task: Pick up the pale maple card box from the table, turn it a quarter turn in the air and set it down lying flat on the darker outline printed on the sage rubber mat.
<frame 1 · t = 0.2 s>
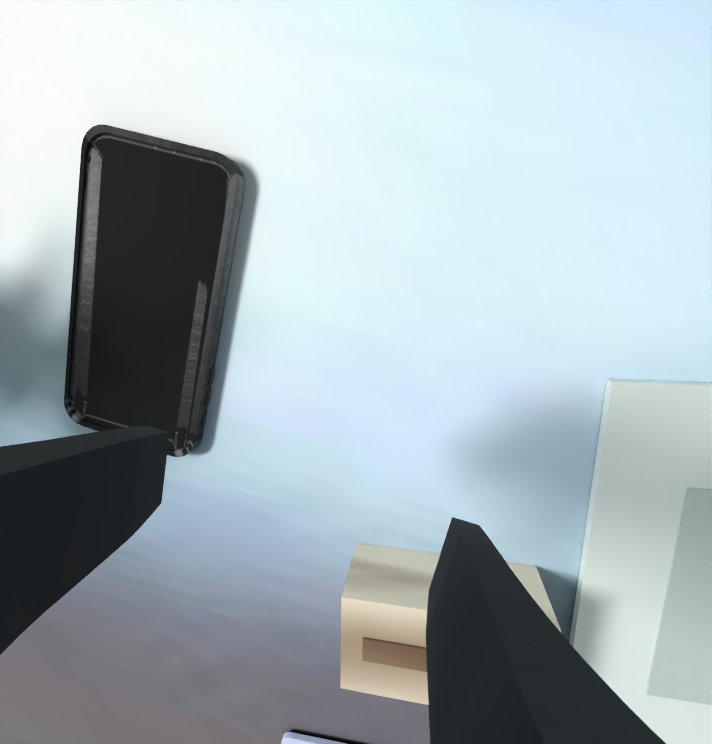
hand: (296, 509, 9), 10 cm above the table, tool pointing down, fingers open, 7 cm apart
phone: (159, 303, 20), on the table
card box: (439, 591, 21), on the table
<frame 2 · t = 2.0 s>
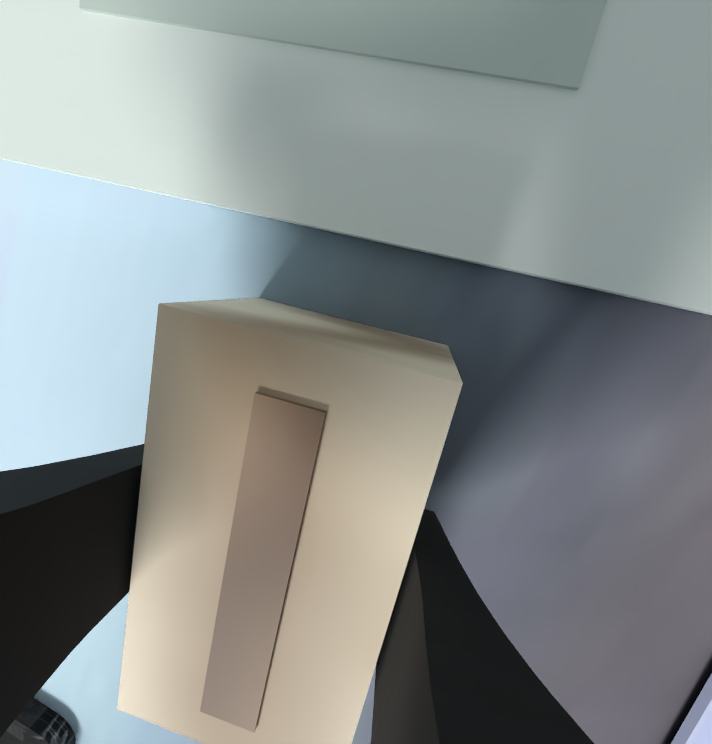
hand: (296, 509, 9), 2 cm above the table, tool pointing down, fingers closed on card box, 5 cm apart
card box: (315, 476, 11), on the table, touching gripper
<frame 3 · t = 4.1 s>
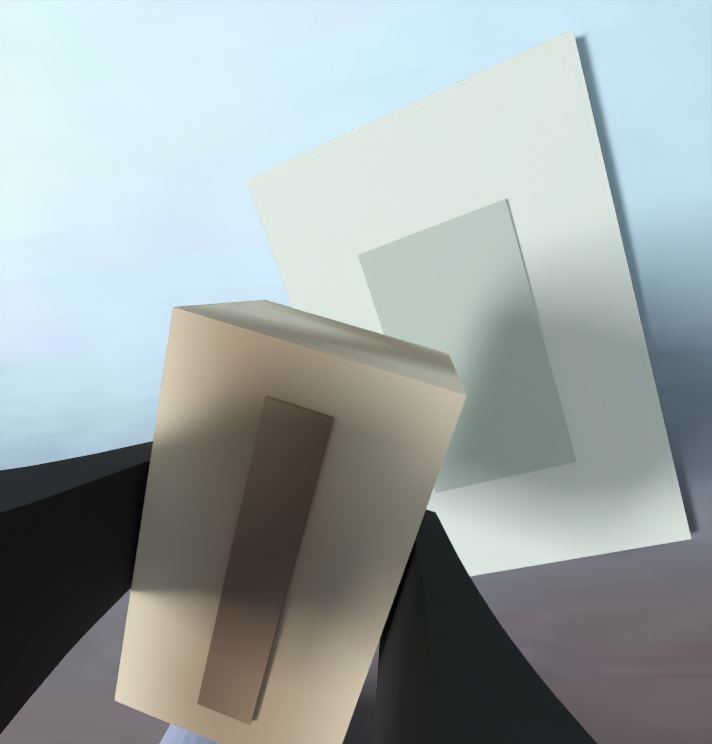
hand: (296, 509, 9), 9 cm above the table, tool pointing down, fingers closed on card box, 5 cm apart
mat: (466, 356, 17), on the table
card box: (314, 476, 11), point 7 cm above the table, touching gripper
when the fingers open (4 cm above the table, at t = 6.1 s): card box drops 1 cm, resting on mat.
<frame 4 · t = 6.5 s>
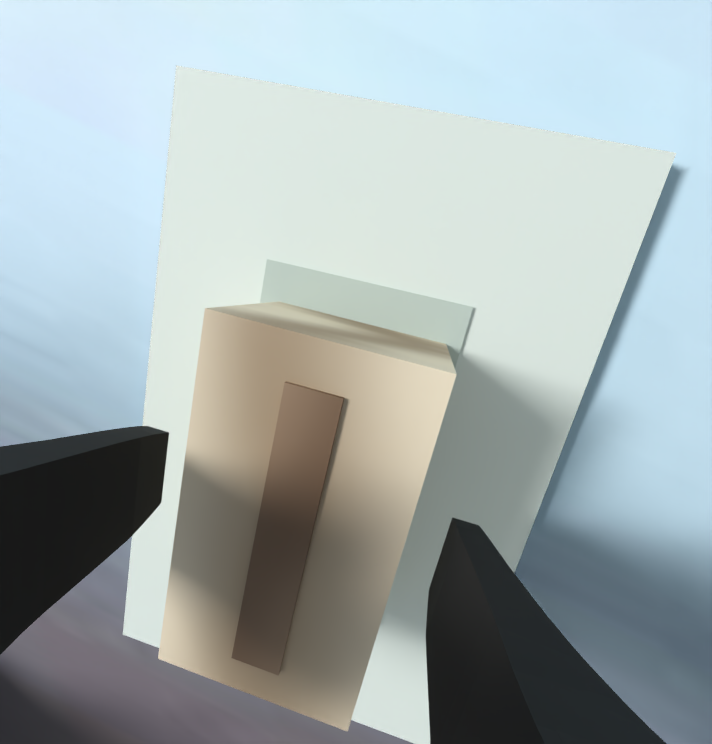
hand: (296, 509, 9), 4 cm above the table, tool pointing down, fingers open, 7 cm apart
mat: (331, 449, 13), on the table
card box: (327, 461, 12), point 1 cm above the table, touching mat
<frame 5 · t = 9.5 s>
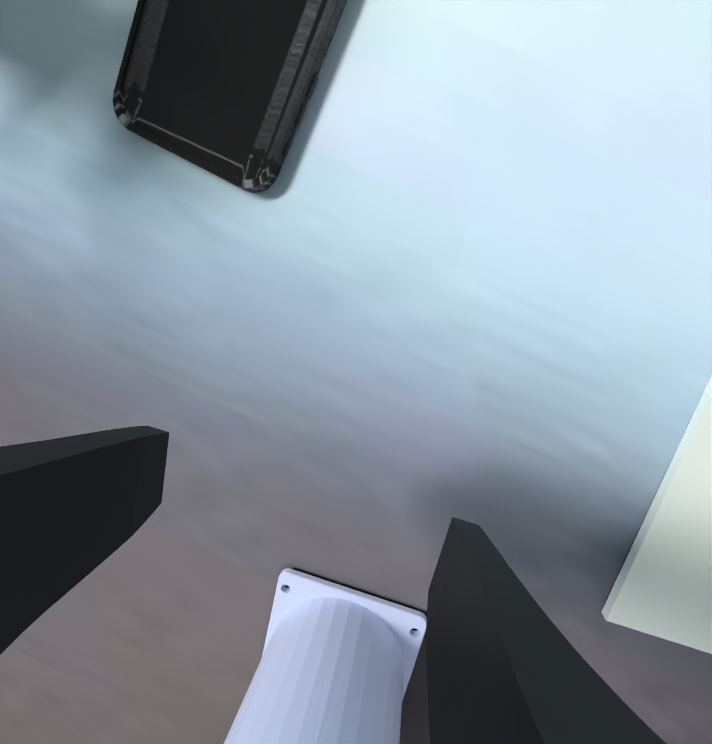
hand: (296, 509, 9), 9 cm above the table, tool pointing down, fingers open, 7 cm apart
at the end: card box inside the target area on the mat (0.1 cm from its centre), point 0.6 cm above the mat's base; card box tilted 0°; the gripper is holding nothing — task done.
